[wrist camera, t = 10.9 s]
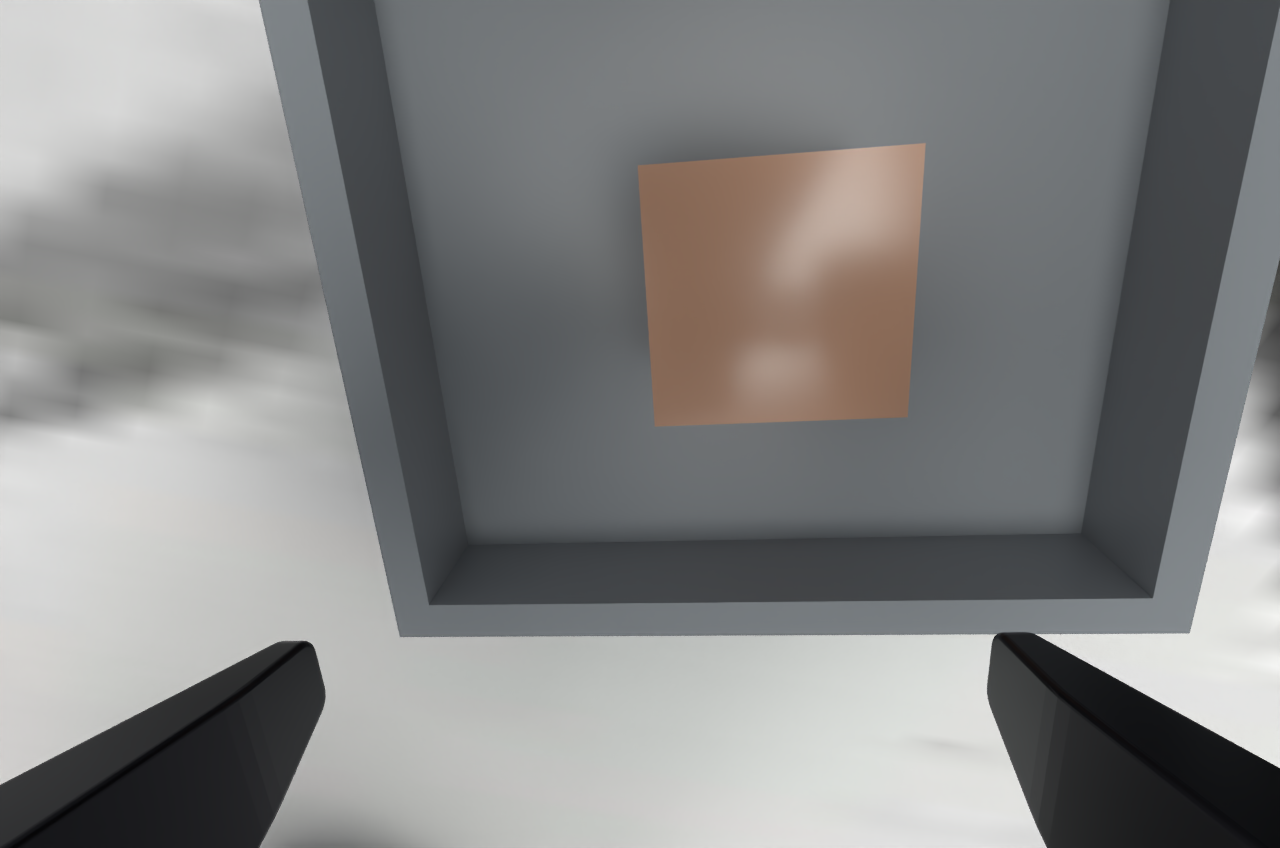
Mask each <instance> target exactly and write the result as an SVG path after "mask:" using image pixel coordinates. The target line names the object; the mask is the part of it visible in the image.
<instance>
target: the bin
mask: <svg viewBox="0 0 1280 848" xmlns="http://www.w3.org/2000/svg"><path fill="white" fill-rule="evenodd" d="M259 3H260V7H261V12H262V16H263V21H264V26H265V30H266V35H267V39H268V44H269V48H270V53H271V57H272V62H273V66H274V71H275V75H276V80H277V84H278V89H279V93H280V98H281V102H282V107H283V111H284V116H285V120H286V125H287V129H288V134H289V138H290V143H291V147H292V152H293V156H294V161H295V165H296V170H297V174H298V179H299V183H300V188H301V192H302V197H303V201H304V206H305V210H306V215H307V219H308V224H309V229H310V233H311V238H312V242H313V247H314V251H315V256H316V260H317V265H318V269H319V274H320V278H321V283H322V287H323V292H324V296H325V301H326V305H327V310H328V314H329V319H330V323H331V328H332V332H333V337H334V341H335V346H336V350H337V355H338V359H339V364H340V368H341V373H342V377H343V382H344V386H345V391H346V395H347V400H348V404H349V409H350V413H351V418H352V422H353V427H354V432H355V436H356V441H357V445H358V450H359V454H360V459H361V463H362V468H363V472H364V477H365V481H366V486H367V490H368V495H369V499H370V504H371V508H372V513H373V517H374V522H375V526H376V531H377V535H378V540H379V544H380V549H381V553H382V558H383V562H384V567H385V571H386V576H387V580H388V585H389V589H390V594H391V598H392V603H393V607H394V612H395V616H396V621H397V625H398V630H399V635H400V637H482V636H702V635H922V634H998V633H1001V632H1030V633H1033V634H1142V633H1190V629H1191V625H1192V621H1193V617H1194V613H1195V609H1196V604H1197V600H1198V596H1199V592H1200V588H1201V584H1202V579H1203V575H1204V571H1205V567H1206V563H1207V559H1208V554H1209V550H1210V546H1211V542H1212V538H1213V534H1214V529H1215V525H1216V521H1217V517H1218V513H1219V509H1220V504H1221V500H1222V496H1223V492H1224V488H1225V484H1226V479H1227V475H1228V471H1229V467H1230V463H1231V459H1232V455H1233V450H1234V446H1235V442H1236V438H1237V434H1238V430H1239V425H1240V421H1241V417H1242V413H1243V409H1244V405H1245V400H1246V396H1247V392H1248V388H1249V384H1250V380H1251V375H1252V371H1253V367H1254V363H1255V359H1256V355H1257V350H1258V346H1259V342H1260V338H1261V334H1262V330H1263V325H1264V321H1265V317H1266V313H1267V309H1268V305H1269V301H1270V296H1271V292H1272V288H1273V284H1274V280H1275V276H1276V271H1277V267H1278V263H1279V259H1280V0H259ZM920 143H926V146H925V162H924V177H923V192H922V207H921V222H920V237H919V253H918V268H917V283H916V298H915V313H914V329H913V344H912V359H911V374H910V389H909V404H908V417H900V418H874V419H847V420H820V421H793V422H766V423H740V424H713V425H686V426H659V427H655V423H654V407H653V392H652V377H651V362H650V346H649V331H648V316H647V301H646V285H645V270H644V255H643V240H642V224H641V209H640V194H639V179H638V165H649V164H662V163H675V162H688V161H700V160H713V159H726V158H739V157H752V156H765V155H778V154H791V153H804V152H817V151H830V150H843V149H856V148H869V147H881V146H894V145H907V144H920Z"/></svg>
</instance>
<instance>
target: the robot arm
mask: <svg viewBox="0 0 1280 848" xmlns="http://www.w3.org/2000/svg"><path fill="white" fill-rule="evenodd" d="M987 695H988V701H989V705H990V708H991V710H992V713H993V716H994V718H995V721H996V723H997V726H998V729H999V731H1000V734H1001V736H1002V739H1003V741H1004V744H1005V747H1006V749H1007V752H1008V754H1009V757H1010V760H1011V762H1012V765H1013V767H1014V770H1015V773H1016V775H1017V778H1018V780H1019V783H1020V785H1021V788H1022V791H1023V793H1024V796H1025V798H1026V801H1027V804H1028V806H1029V809H1030V811H1031V813H1032V816H1033V818H1034V821H1035V823H1036V825H1037V828H1038V830H1039V832H1040V834H1041V836H1042V838H1043V840H1044V842H1045V844H1046V847H1047V848H1280V768H1278V767H1276V766H1275V765H1273V764H1271V763H1269V762H1267V761H1266V760H1264V759H1262V758H1260V757H1258V756H1256V755H1255V754H1253V753H1251V752H1249V751H1247V750H1245V749H1244V748H1242V747H1240V746H1238V745H1236V744H1234V743H1233V742H1231V741H1229V740H1227V739H1225V738H1224V737H1222V736H1220V735H1218V734H1216V733H1214V732H1213V731H1211V730H1209V729H1207V728H1205V727H1203V726H1202V725H1200V724H1198V723H1196V722H1194V721H1192V720H1191V719H1189V718H1187V717H1185V716H1183V715H1182V714H1180V713H1178V712H1176V711H1174V710H1172V709H1171V708H1169V707H1167V706H1165V705H1163V704H1161V703H1160V702H1158V701H1156V700H1154V699H1152V698H1150V697H1149V696H1147V695H1145V694H1143V693H1141V692H1140V691H1138V690H1136V689H1134V688H1132V687H1130V686H1129V685H1127V684H1125V683H1123V682H1121V681H1119V680H1118V679H1116V678H1114V677H1112V676H1110V675H1108V674H1107V673H1105V672H1103V671H1101V670H1099V669H1098V668H1096V667H1094V666H1092V665H1090V664H1088V663H1087V662H1085V661H1083V660H1081V659H1079V658H1077V657H1076V656H1074V655H1072V654H1070V653H1068V652H1066V651H1065V650H1063V649H1061V648H1059V647H1057V646H1056V645H1054V644H1052V643H1050V642H1048V641H1046V640H1045V639H1043V638H1041V637H1039V636H1037V635H1035V634H1033V633H1030V632H1001V633H998V634H997V635H996V636H995V637H994V639H993V642H992V648H991V656H990V665H989V674H988V683H987ZM324 703H325V686H324V683H323V679H322V675H321V671H320V667H319V663H318V659H317V655H316V651H315V649H314V647H313V645H312V644H311V643H309V642H307V641H281V642H277V643H275V644H273V645H271V646H269V647H267V648H265V649H263V650H261V651H259V652H257V653H255V654H253V655H252V656H250V657H248V658H246V659H244V660H242V661H240V662H238V663H236V664H234V665H232V666H230V667H228V668H226V669H224V670H222V671H220V672H219V673H217V674H215V675H213V676H211V677H209V678H207V679H205V680H203V681H201V682H199V683H197V684H195V685H193V686H191V687H189V688H187V689H186V690H184V691H182V692H180V693H178V694H176V695H174V696H172V697H170V698H168V699H166V700H164V701H162V702H160V703H158V704H156V705H154V706H153V707H151V708H149V709H147V710H145V711H143V712H141V713H139V714H137V715H135V716H133V717H131V718H129V719H127V720H125V721H123V722H121V723H120V724H118V725H116V726H114V727H112V728H110V729H108V730H106V731H104V732H102V733H100V734H98V735H96V736H94V737H92V738H90V739H88V740H87V741H85V742H83V743H81V744H79V745H77V746H75V747H73V748H71V749H69V750H67V751H65V752H63V753H61V754H59V755H57V756H55V757H54V758H52V759H50V760H48V761H46V762H44V763H42V764H40V765H38V766H36V767H34V768H32V769H30V770H28V771H26V772H24V773H22V774H21V775H19V776H17V777H15V778H13V779H11V780H9V781H7V782H5V783H3V784H1V785H0V848H259V847H260V845H261V843H262V841H263V839H264V838H265V836H266V834H267V832H268V830H269V828H270V826H271V824H272V822H273V820H274V818H275V816H276V814H277V812H278V810H279V808H280V806H281V804H282V801H283V799H284V797H285V795H286V793H287V790H288V788H289V786H290V783H291V781H292V779H293V777H294V774H295V772H296V770H297V767H298V765H299V763H300V761H301V758H302V756H303V754H304V751H305V749H306V747H307V745H308V742H309V740H310V738H311V736H312V733H313V731H314V729H315V726H316V724H317V722H318V720H319V717H320V715H321V713H322V710H323V707H324Z"/></svg>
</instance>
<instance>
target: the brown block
mask: <svg viewBox="0 0 1280 848" xmlns="http://www.w3.org/2000/svg"><path fill="white" fill-rule="evenodd" d="M925 146H926V143H920V144H907V145H894V146H881V147H869V148H856V149H843V150H830V151H817V152H804V153H791V154H778V155H765V156H752V157H739V158H726V159H713V160H700V161H688V162H675V163H662V164H649V165H638V179H639V194H640V209H641V224H642V240H643V255H644V270H645V285H646V301H647V316H648V331H649V346H650V362H651V377H652V392H653V407H654V423H655V427H659V426H686V425H713V424H740V423H766V422H793V421H820V420H847V419H874V418H900V417H908V404H909V389H910V374H911V359H912V344H913V329H914V313H915V298H916V283H917V268H918V253H919V237H920V222H921V207H922V192H923V177H924V162H925Z"/></svg>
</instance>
